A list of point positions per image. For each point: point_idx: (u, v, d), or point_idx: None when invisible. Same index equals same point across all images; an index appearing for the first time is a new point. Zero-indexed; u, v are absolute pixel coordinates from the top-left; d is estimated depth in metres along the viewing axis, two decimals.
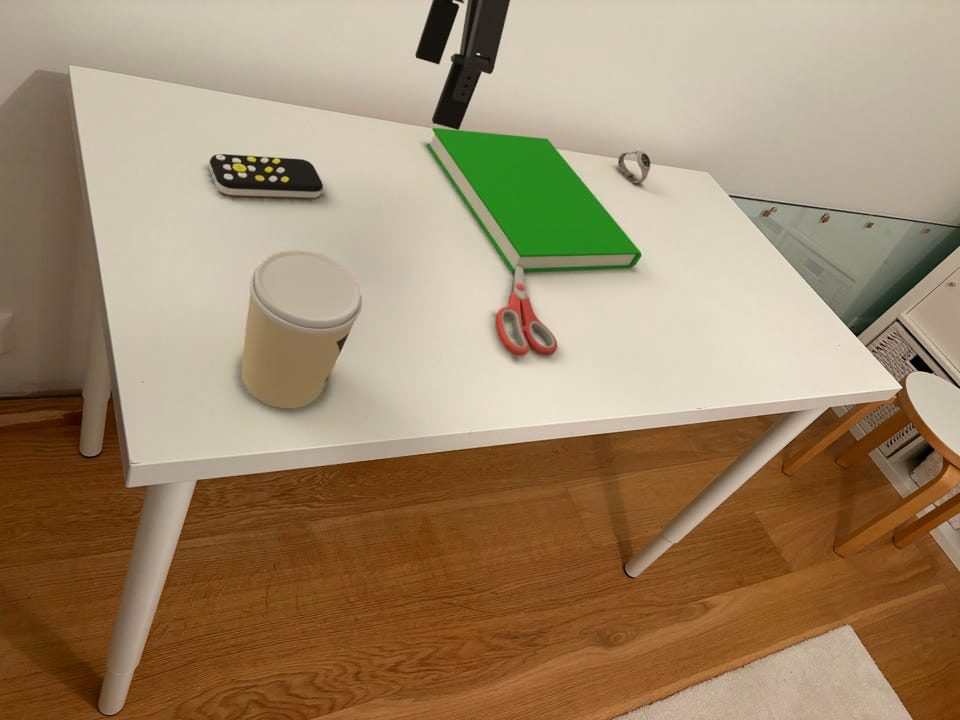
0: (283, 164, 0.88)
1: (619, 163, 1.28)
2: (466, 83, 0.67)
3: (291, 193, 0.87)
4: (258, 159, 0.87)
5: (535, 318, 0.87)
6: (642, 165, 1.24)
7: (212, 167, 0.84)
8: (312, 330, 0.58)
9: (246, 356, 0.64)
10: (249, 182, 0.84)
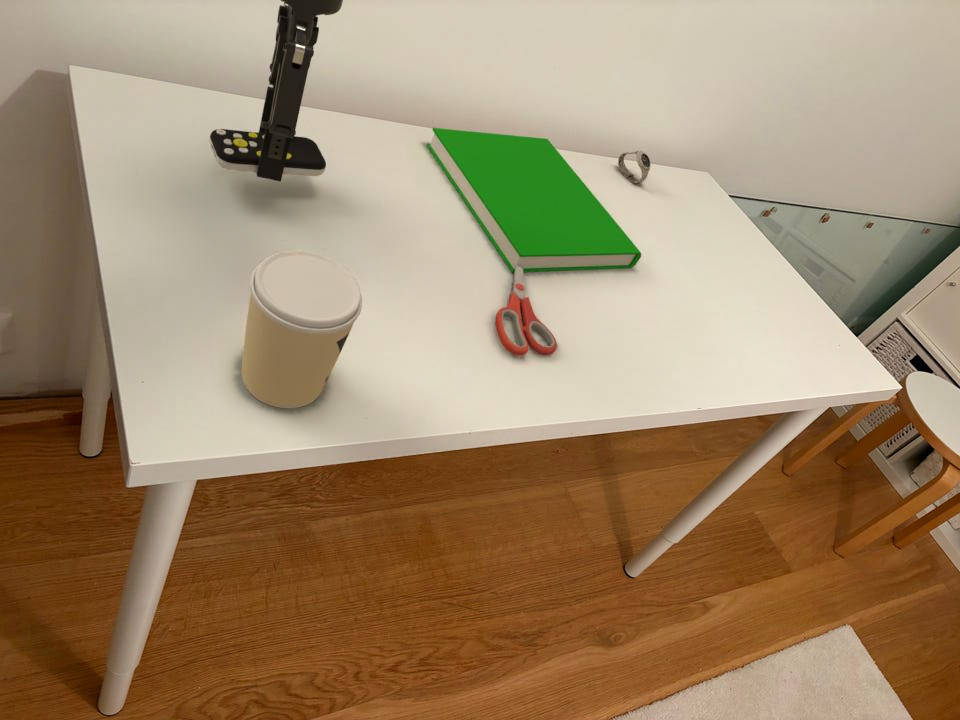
0: None
1: (619, 163, 1.28)
2: (277, 144, 0.78)
3: (293, 170, 0.84)
4: (260, 135, 0.85)
5: (535, 318, 0.87)
6: (642, 165, 1.24)
7: (212, 142, 0.81)
8: (312, 330, 0.58)
9: (246, 356, 0.64)
10: (250, 157, 0.81)
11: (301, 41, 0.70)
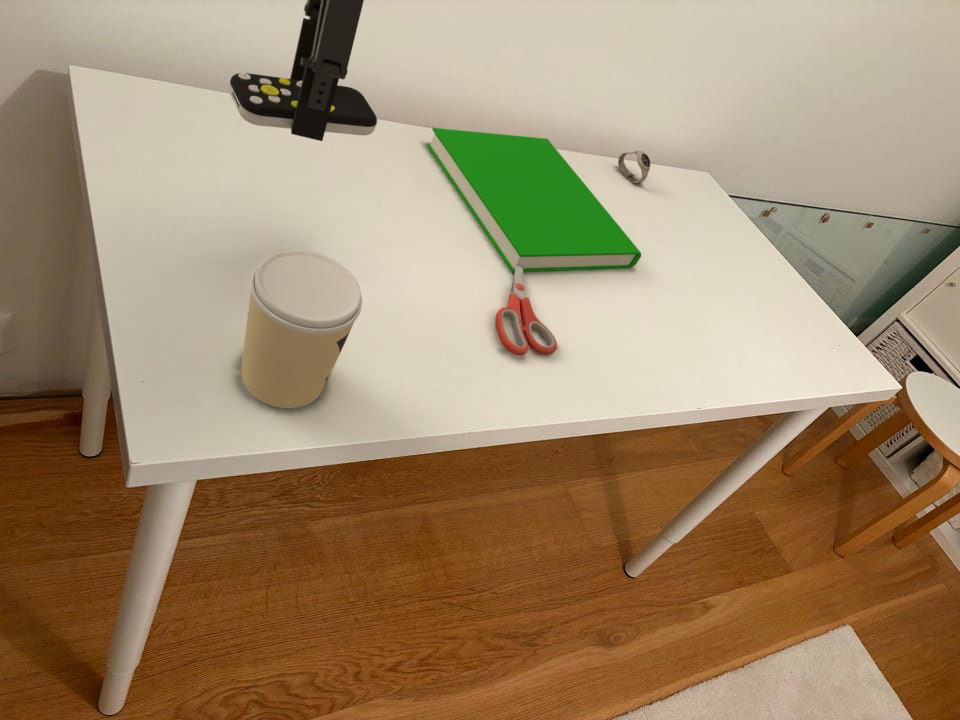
0: None
1: (619, 163, 1.28)
2: (321, 89, 0.59)
3: (337, 127, 0.65)
4: (293, 82, 0.66)
5: (535, 318, 0.87)
6: (642, 165, 1.24)
7: (233, 89, 0.62)
8: (312, 330, 0.58)
9: (246, 356, 0.64)
10: (283, 108, 0.62)
11: None
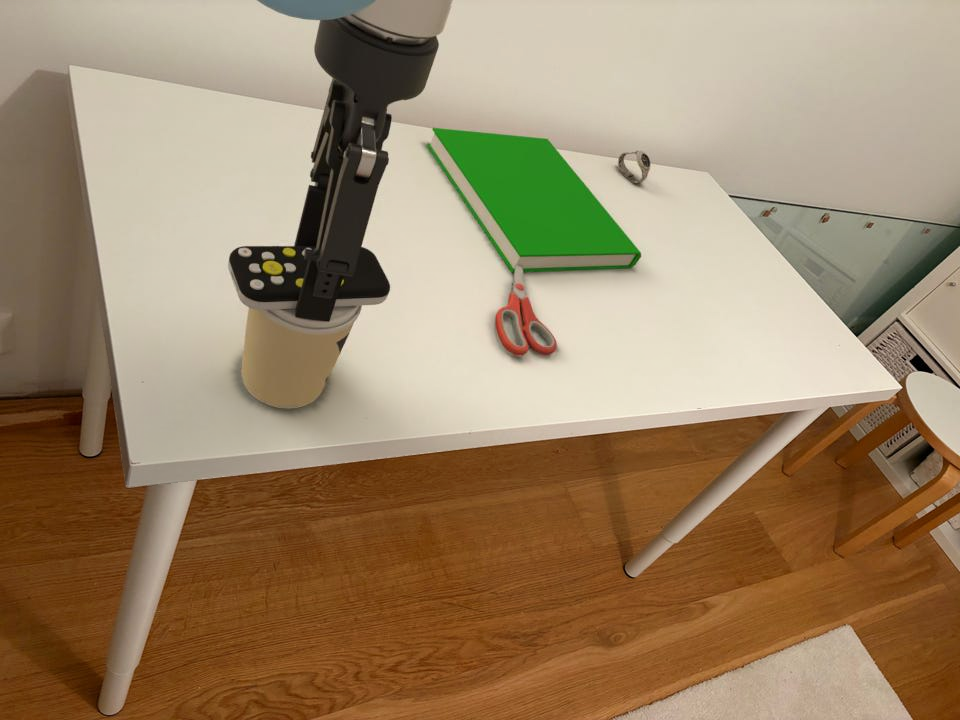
0: None
1: (619, 163, 1.28)
2: (327, 280, 0.53)
3: (347, 302, 0.59)
4: (299, 251, 0.60)
5: (535, 318, 0.87)
6: (642, 165, 1.24)
7: (232, 268, 0.57)
8: (312, 330, 0.58)
9: (246, 356, 0.64)
10: (287, 290, 0.56)
11: (369, 144, 0.46)
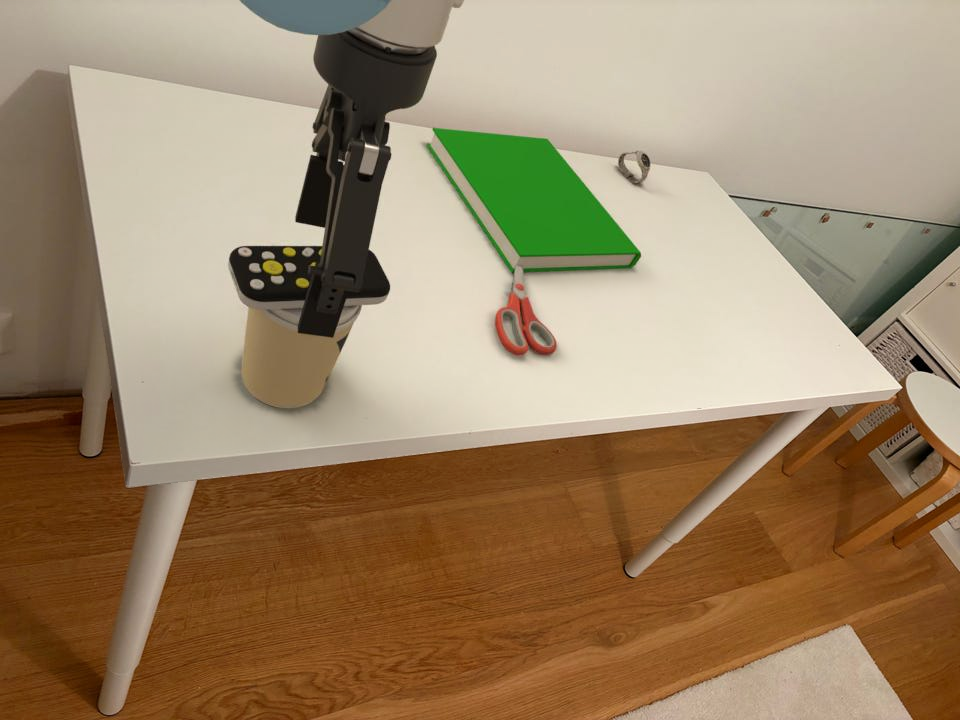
0: None
1: (619, 163, 1.28)
2: (331, 296, 0.51)
3: (347, 301, 0.59)
4: (299, 251, 0.60)
5: (534, 318, 0.87)
6: (642, 165, 1.24)
7: (232, 268, 0.57)
8: None
9: (246, 356, 0.64)
10: (287, 290, 0.56)
11: (371, 140, 0.46)
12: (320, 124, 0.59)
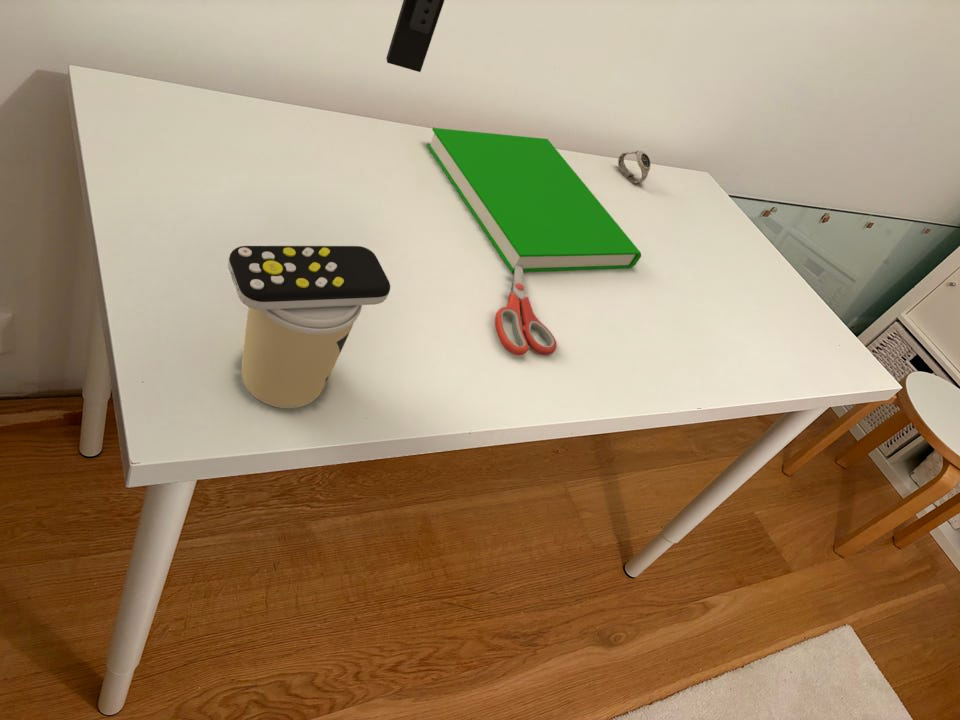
0: (334, 256, 0.61)
1: (619, 163, 1.28)
2: (426, 7, 0.52)
3: (347, 301, 0.59)
4: (299, 251, 0.60)
5: (534, 318, 0.87)
6: (642, 165, 1.24)
7: (232, 268, 0.57)
8: (312, 330, 0.58)
9: (246, 356, 0.64)
10: (287, 290, 0.56)
11: None
12: None
